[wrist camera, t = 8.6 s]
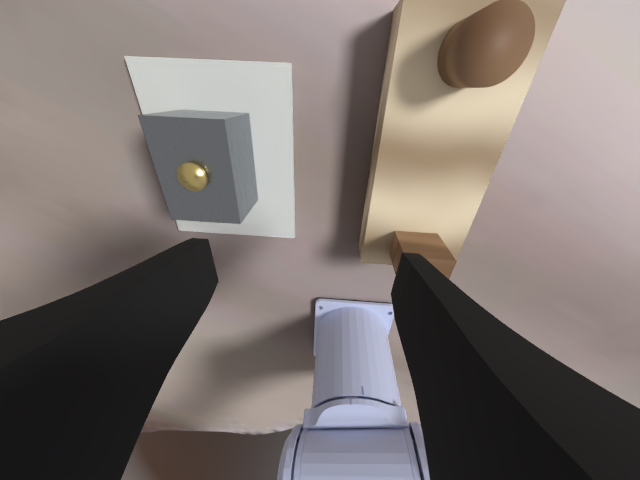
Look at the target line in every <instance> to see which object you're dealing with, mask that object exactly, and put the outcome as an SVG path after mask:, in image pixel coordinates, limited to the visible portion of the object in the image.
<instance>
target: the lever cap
mask: <svg viewBox="0 0 640 480" xmlns="http://www.w3.org/2000/svg"><path fill="white" fill-rule="evenodd" d="M138 117H139V120H140V123H141V127H142V130H143V133H144V136H145V139H146V142H147V145H148V148H149V151H150V154H151V157H152V161H153V164H154V167H155V170H156V173H157V176H158V179H159V182H160V185H161V188H162V191H163V195H164V198H165V201H166V204H167V207H168V210H169V213H170V216H171V219H172V220H185V221H200V222H215V223H231V224H241V223H242V222H243V220H244V219H245V217H246V216H247V215H248V213H249V212H250V211H251V209H252V208H253V206H254V205H255V204H256V202H257V201H258V193H257V183H256V174H255V164H254V154H253V145H252V135H251V126H250V116H249V113H241V112H221V111H200V110H173V111H166V112H158V113H150V114H142V115H138Z"/></svg>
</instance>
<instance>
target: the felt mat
mask: <svg viewBox="0 0 640 480" xmlns="http://www.w3.org/2000/svg"><path fill="white" fill-rule="evenodd" d="M124 57H125V60H126V63H127V67H128V70H129V73H130V76H131V79H132V82H133V86H134V89H135V92H136V95H137V98H138V102H139V105H140V108H141V111H142V114H150V113H158V112H166V111H173V110H200V111H221V112H241V113H249V116H250V126H251V135H252V145H253V154H254V164H255V174H256V183H257V193H258V201H257V202H256V204H255V205H254V206H253V208H252V209H251V211H250V212H249V213H248V215H247V216H246V217H245V219H244V220H243V222H242V223H241V224H231V223H215V222H200V221H185V220H176V223H177V226H178V229H179V231H193V232H208V233H223V234H238V235H253V236H268V237H283V238H295V198H294V145H293V92H292V63H280V62H256V61H232V60H209V59H185V58H161V57H137V56H124Z"/></svg>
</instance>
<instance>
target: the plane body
mask: <svg viewBox="0 0 640 480" xmlns="http://www.w3.org/2000/svg"><path fill="white" fill-rule="evenodd" d="M565 2H566V0H400V1H399V3H398V4H397V5H396V7H395V8H394V10H393V16H392V22H391V29H390V36H389V43H388V49H387V56H386V63H385V70H384V76H383V83H382V90H381V97H380V104H379V110H378V117H377V124H376V131H375V137H374V144H373V151H372V158H371V164H370V171H369V178H368V185H367V192H366V198H365V205H364V212H363V219H362V225H361V232H360V239H359V252H360V260H361V263H374V264H389V265H393V267H394V271H395V274H396V273H397V269H398V266H399V262H400V258H401V254H402V252H404V253H419V254H420V255H422V256H423V257H424V258H425V259H426V260H428V261H429V262H430V263H431V264H432V265H433V266H434V267H436V268H437V269H438V270H439V271H440V272H441V273H442V274H443V275H445V276H446V277H447V278H448V279H449V278H450V276H451V273H452V271H453V268H454V266H455V264H456V260H457V257H458V255H459V252H460V250H461V248H462V245H463V243H464V241H465V238H466V236H467V234H468V231H469V229H470V226H471V224H472V222H473V219H474V217H475V215H476V212H477V210H478V207H479V205H480V203H481V200H482V198H483V196H484V193H485V191H486V189H487V186H488V184H489V181H490V179H491V177H492V174H493V172H494V170H495V167H496V165H497V163H498V160H499V158H500V155H501V153H502V151H503V148H504V146H505V144H506V141H507V139H508V136H509V134H510V132H511V129H512V127H513V125H514V122H515V120H516V118H517V115H518V113H519V110H520V108H521V106H522V103H523V101H524V99H525V96H526V94H527V91H528V89H529V87H530V84H531V82H532V80H533V77H534V75H535V73H536V70H537V68H538V65H539V63H540V61H541V58H542V56H543V54H544V51H545V49H546V47H547V44H548V42H549V39H550V37H551V35H552V32H553V30H554V28H555V25H556V23H557V20H558V18H559V16H560V13H561V11H562V9H563V6H564V4H565Z"/></svg>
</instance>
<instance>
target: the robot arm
mask: <svg viewBox="0 0 640 480" xmlns="http://www.w3.org/2000/svg"><path fill="white" fill-rule="evenodd" d="M217 283H218V277H217V273H216V269H215V265H214V261H213V256H212V252H211V248H210V244H209V240H208V239H198V238H192V239H189V240H186V241H184V242H182V243H180V244H178V245H175V246H173V247H171V248H169V249H167V250H165V251H163V252H161V253H159V254H157V255H155V256H153V257H151V258H149V259H147V260H145V261H143V262H141V263H139V264H137V265H135V266H133V267H131V268H129V269H127V270H125V271H123V272H121V273H118V274H116V275H114V276H112V277H110V278H108V279H105V280H103V281H101V282H99V283H97V284H95V285H92V286H90V287H88V288H86V289H83V290H81V291H78V292H76V293H74V294H71V295H69V296H66V297H64V298H61V299H59V300H56V301H54V302H51V303H49V304H46V305H43V306H41V307H38V308H35V309H33V310H30V311H27V312H24V313H21V314H18V315H15V316H13V317H10V318H7V319H4V320H1V321H0V480H121V478H122V475H123V473H124V470H125V468H126V465H127V463H128V461H129V458H130V455H131V453H132V451H133V449H134V446H135V443H136V441H137V439H138V437H139V434H140V432H141V430H142V428H143V426H144V423H145V421H146V419H147V417H148V414H149V412H150V410H151V408H152V405H153V403H154V401H155V399H156V397H157V395H158V393H159V391H160V389H161V387H162V384H163V382H164V380H165V378H166V376H167V374H168V372H169V370H170V368H171V367H172V365H173V363H174V361H175V359H176V358H177V356H178V354H179V353H180V351H181V349H182V348H183V346H184V344H185V343H186V341H187V340H188V338H189V336H190V335H191V333H192V331H193V330H194V328H195V326H196V325H197V323H198V321H199V320H200V318H201V316H202V315H203V313H204V311H205V309H206V308H207V306H208V304H209V302H210V300H211V298H212V295H213V293H214V291H215V288H216V286H217ZM391 297H392V304H388V303H374V302H361V301H348V300H334V299H317V300H316V303H315V327H314V351H313V355H314V356H315V357H316V359H315V371H314V382H313V394H312V406H311V409H305V411H304V421H303V424H298V425H296V426H295V427H294V428H293V430H292V432H291V434H290V435H289V437H288V438H287V440H286V442H285V444H284V447H283V450H282V455H281V459H280V463H279V469H278V477H277V480H640V409H639V408H637V407H636V406H634V405H632V404H630V403H628V402H626V401H625V400H623V399H621V398H620V397H618V396H616V395H614V394H613V393H611V392H609V391H607V390H606V389H604V388H602V387H601V386H599V385H597V384H595V383H594V382H592V381H590V380H589V379H587V378H586V377H584V376H582V375H581V374H579V373H577V372H576V371H574V370H573V369H571V368H569V367H568V366H566V365H564V364H563V363H561V362H560V361H558V360H556V359H555V358H553V357H552V356H550V355H549V354H547V353H546V352H544V351H542V350H541V349H539V348H538V347H536V346H535V345H534V344H532V343H531V342H529V341H528V340H526V339H525V338H523V337H522V336H520V335H519V334H518V333H516V332H515V331H513V330H512V329H510V328H509V327H508V326H506V325H505V324H503V323H502V322H501V321H499V320H498V319H497V318H495V317H494V316H493V315H492V314H490V313H489V312H488V311H486V310H485V309H484V308H483V307H481V306H480V305H479V304H477V303H476V302H475V301H474V300H473V299H471V298H470V297H469V296H468V295H467V294H465V293H464V292H463V291H462V290H461V289H459V288H458V287H457V286H456V285H455V284H454V283H452V282H451V281H450V280H449V279H448V278H447V277H446V276H445V275H443V274H442V273H441V272H440V271H439V270H438V269H437V268H436V267H434V266H433V265H432V264H431V263H430V262H429V261H428V260H426V259H425V258H424V257H423V256H422V255H420V254H419V253H404V252H402V254H401V258H400V262H399V266H398V269H397V273H396V277H395V280H394V284H393V288H392V292H391ZM319 306H321V307H319ZM394 317H395V321H396V325H397V329H398V332H399V336H400V340H401V343H402V347H403V350H404V354H405V357H406V361H407V364H408V368H409V371H410V375H411V378H412V382H413V386H414V391H415V395H416V400H417V406H418V411H419V416H420V422H421V427H422V428H421V427H420V425H419V424H418V423H417V422H409V425H408V420H407V415H406V411H405V407H404V406H401V401H400V396H399V391H398V386H397V381H396V376H395V371H394V366H393V361H392V356H391V351H390V346H389V341H388V334H389V331H390V328H391V324H392V321H393V318H394Z"/></svg>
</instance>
